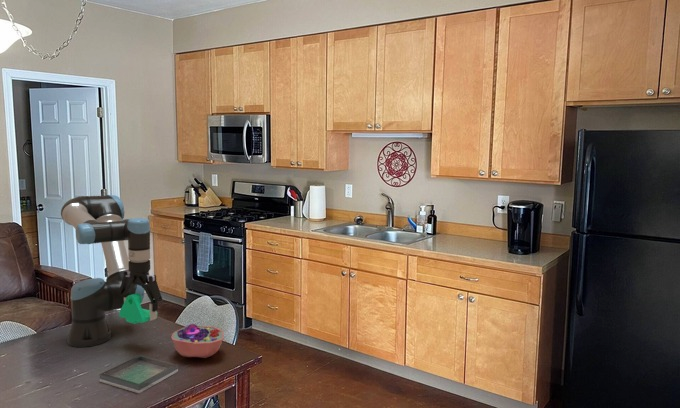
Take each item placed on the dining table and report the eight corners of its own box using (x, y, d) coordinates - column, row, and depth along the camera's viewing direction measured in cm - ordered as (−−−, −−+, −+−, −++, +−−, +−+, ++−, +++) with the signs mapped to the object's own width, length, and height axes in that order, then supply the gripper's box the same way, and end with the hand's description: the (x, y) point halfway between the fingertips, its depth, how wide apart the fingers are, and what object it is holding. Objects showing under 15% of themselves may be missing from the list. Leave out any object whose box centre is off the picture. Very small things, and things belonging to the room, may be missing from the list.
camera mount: (158, 319, 186) (158, 292, 185) (142, 325, 179) (142, 298, 178) (135, 313, 191) (135, 287, 190) (119, 319, 184) (118, 292, 183)
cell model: (201, 371, 170) (201, 339, 168) (161, 357, 179) (160, 327, 178) (235, 353, 184) (235, 324, 183) (195, 342, 194) (195, 314, 193)
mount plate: (99, 381, 160) (99, 374, 160) (140, 361, 175) (140, 354, 175) (139, 393, 153) (138, 385, 153) (177, 371, 168) (177, 364, 168)
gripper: (107, 257, 184) (108, 313, 187) (156, 266, 174) (157, 325, 177) (123, 254, 191) (124, 308, 194) (172, 262, 181) (172, 319, 184)
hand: (140, 316), depth 185 cm, fingers closed on camera mount, 12 cm apart
